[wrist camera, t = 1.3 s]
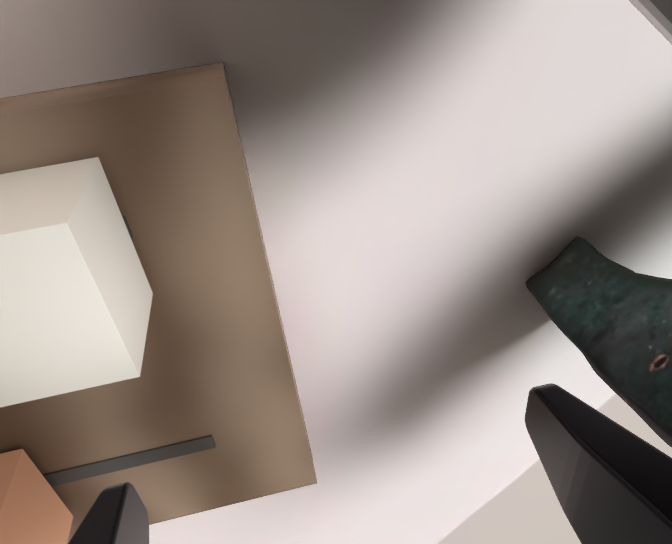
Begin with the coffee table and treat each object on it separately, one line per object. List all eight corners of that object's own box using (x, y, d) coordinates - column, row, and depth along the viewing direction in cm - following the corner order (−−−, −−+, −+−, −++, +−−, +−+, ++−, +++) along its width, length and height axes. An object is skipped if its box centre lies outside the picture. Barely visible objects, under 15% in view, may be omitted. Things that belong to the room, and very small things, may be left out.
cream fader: (98, 156, 15) (66, 222, 12) (152, 293, 18) (139, 376, 14) (-48, 182, 14) (-123, 258, 11) (32, 318, 17) (-9, 409, 14)
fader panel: (222, 62, 16) (224, 78, 15) (310, 450, 28) (317, 484, 26) (-539, 186, 14) (-642, 222, 12) (-103, 549, 26) (-125, 594, 24)
